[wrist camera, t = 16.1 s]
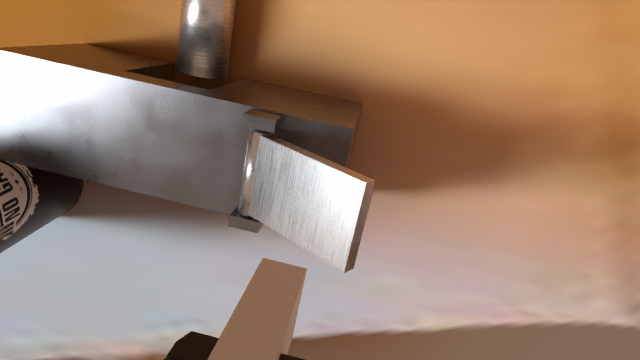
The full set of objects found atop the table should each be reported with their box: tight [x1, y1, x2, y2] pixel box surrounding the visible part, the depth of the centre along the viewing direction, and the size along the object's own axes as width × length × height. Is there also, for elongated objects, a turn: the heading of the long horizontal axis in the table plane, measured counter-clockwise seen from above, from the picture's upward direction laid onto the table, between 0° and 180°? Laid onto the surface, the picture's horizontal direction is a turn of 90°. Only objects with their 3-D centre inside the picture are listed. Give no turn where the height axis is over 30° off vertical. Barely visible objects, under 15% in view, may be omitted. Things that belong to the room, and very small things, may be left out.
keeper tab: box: [238, 128, 376, 273], centre depth 24 cm, size 1×5×8 cm
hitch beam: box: [0, 43, 362, 233], centre depth 31 cm, size 22×7×11 cm, turn 79°
